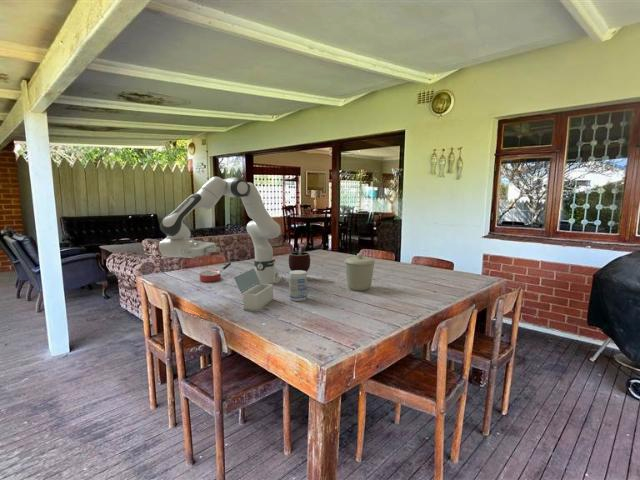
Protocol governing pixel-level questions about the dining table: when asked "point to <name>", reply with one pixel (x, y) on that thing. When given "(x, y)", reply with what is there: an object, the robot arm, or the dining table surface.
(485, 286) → the dining table surface
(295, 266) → the brown utensil pot
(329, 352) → the dining table surface
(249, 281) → the cover
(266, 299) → the beige open box
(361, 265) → the canister
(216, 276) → the frying pan
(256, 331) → the dining table surface
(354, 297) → the dining table surface
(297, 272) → the supplement tub
